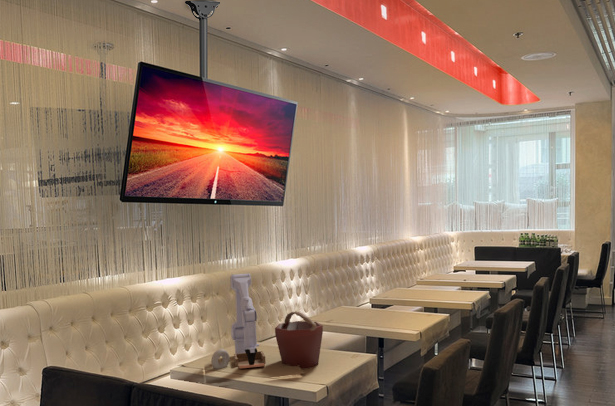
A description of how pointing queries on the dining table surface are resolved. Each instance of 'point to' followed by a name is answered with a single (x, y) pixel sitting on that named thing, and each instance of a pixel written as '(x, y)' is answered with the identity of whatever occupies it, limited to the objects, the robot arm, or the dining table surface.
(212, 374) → the dining table surface
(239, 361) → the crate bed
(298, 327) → the bucket
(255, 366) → the block
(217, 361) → the donut
